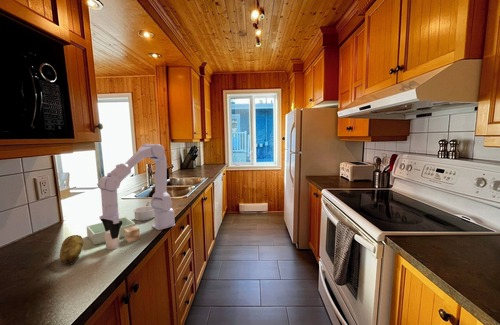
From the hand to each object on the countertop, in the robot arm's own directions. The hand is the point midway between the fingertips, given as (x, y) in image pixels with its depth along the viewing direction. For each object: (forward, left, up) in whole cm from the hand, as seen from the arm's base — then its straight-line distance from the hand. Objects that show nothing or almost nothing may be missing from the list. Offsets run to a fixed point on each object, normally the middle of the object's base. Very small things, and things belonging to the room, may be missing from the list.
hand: (112, 235), depth 96 cm
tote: (-4, -14, -5) cm, 15 cm away
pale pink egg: (0, 0, -5) cm, 5 cm away
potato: (+14, -1, -5) cm, 15 cm away
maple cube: (-9, -2, -5) cm, 10 cm away
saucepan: (-26, -29, -6) cm, 40 cm away
